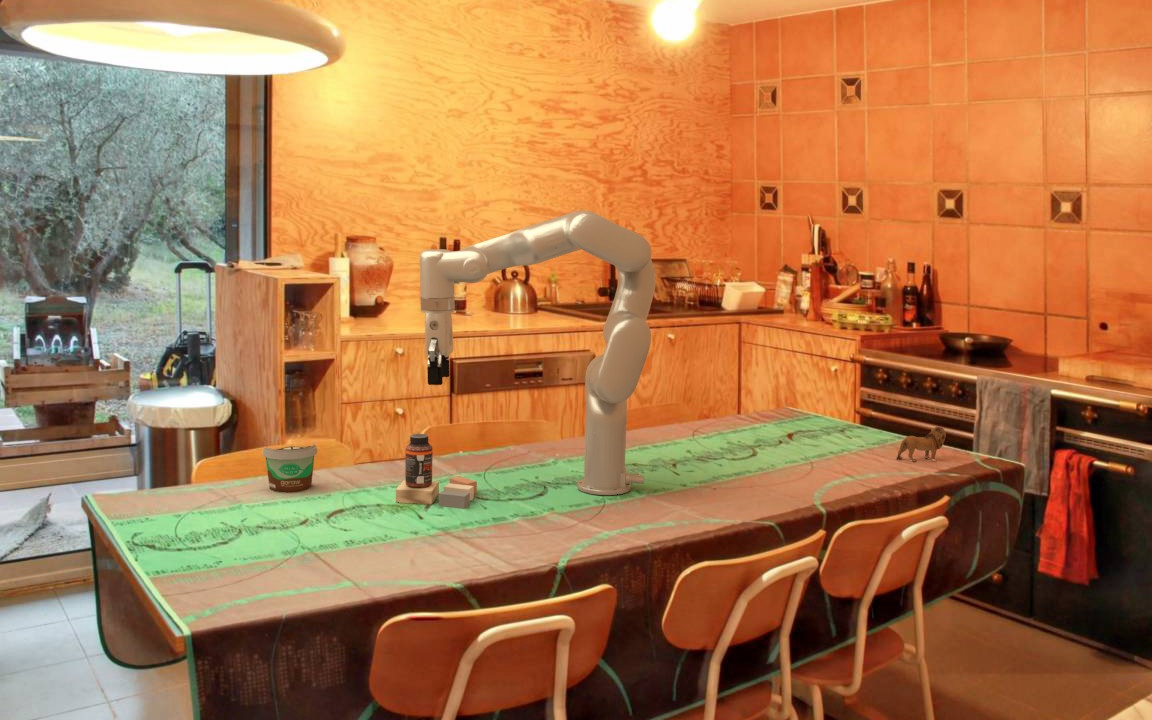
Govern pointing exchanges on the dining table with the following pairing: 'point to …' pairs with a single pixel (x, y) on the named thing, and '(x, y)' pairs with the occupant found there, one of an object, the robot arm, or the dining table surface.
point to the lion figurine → (923, 443)
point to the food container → (290, 468)
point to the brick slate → (454, 499)
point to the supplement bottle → (418, 462)
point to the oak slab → (417, 493)
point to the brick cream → (460, 489)
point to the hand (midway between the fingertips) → (438, 380)
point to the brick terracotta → (464, 482)
